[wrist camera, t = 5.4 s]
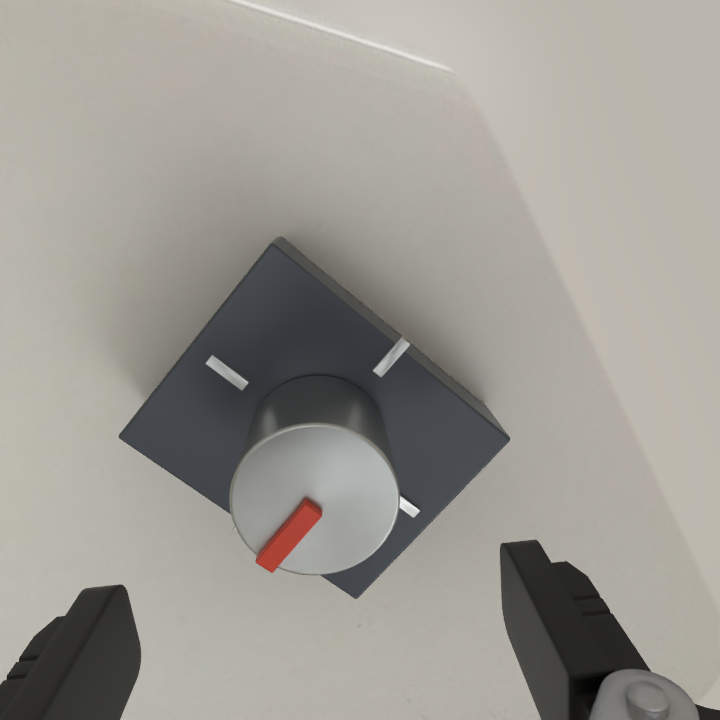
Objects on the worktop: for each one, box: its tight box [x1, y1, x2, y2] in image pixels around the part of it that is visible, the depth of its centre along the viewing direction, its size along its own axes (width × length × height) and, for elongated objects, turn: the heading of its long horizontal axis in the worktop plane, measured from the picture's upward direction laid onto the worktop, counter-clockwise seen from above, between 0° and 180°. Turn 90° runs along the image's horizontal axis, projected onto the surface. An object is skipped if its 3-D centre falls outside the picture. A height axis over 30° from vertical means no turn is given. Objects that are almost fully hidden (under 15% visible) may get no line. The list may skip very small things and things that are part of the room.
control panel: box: [119, 237, 510, 599], centre depth 20 cm, size 10×9×3 cm
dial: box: [229, 376, 400, 575], centre depth 16 cm, size 4×4×4 cm
